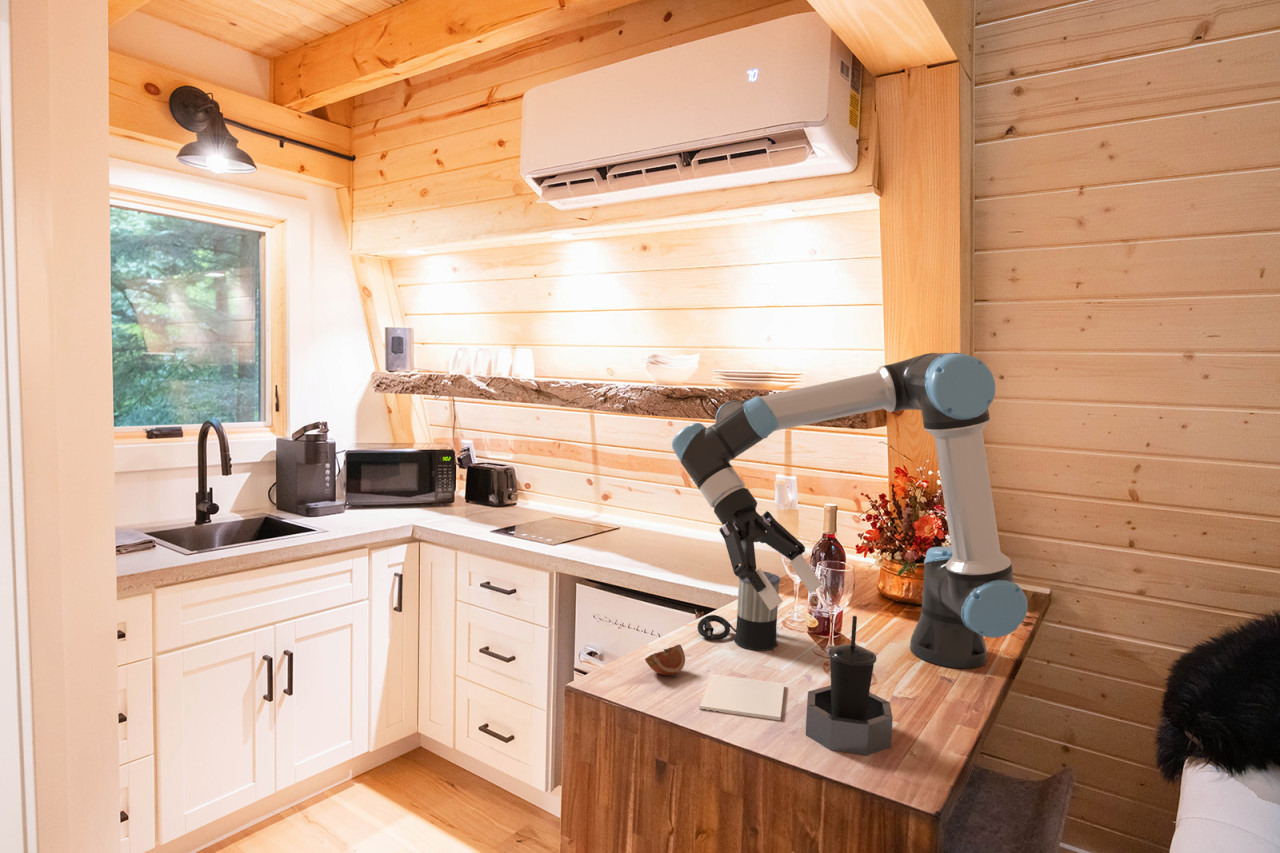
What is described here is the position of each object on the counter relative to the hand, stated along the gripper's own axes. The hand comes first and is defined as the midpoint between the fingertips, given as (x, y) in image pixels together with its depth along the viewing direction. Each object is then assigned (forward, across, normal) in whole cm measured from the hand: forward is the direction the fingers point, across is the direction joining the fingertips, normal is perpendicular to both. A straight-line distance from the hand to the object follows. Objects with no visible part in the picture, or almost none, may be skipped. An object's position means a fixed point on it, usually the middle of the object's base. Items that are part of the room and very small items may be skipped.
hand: (797, 597), depth 134 cm
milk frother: (-3, -21, -33) cm, 39 cm away
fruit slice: (-4, +4, -33) cm, 33 cm away
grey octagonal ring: (+22, 0, -7) cm, 23 cm away
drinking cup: (+22, 0, -7) cm, 23 cm away
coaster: (+8, +1, -21) cm, 22 cm away
